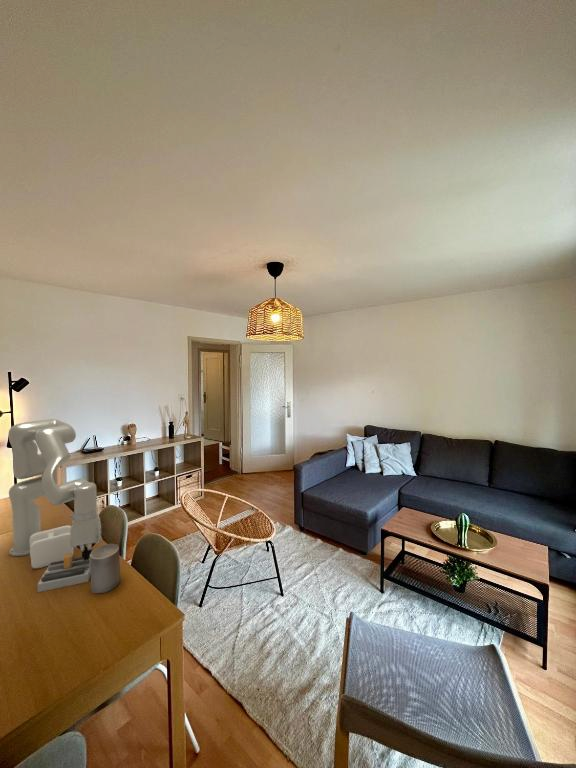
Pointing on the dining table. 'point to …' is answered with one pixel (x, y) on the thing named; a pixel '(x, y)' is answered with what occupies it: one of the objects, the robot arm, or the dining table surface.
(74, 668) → the dining table surface
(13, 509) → the robot arm
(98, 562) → the pillar candle
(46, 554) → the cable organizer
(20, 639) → the dining table surface
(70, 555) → the lever
